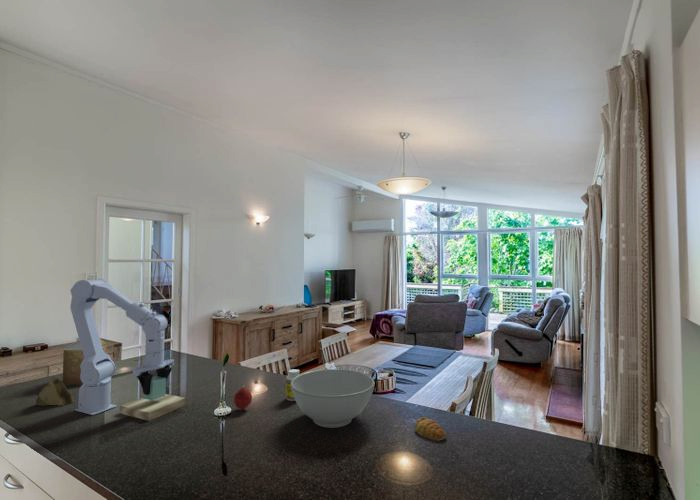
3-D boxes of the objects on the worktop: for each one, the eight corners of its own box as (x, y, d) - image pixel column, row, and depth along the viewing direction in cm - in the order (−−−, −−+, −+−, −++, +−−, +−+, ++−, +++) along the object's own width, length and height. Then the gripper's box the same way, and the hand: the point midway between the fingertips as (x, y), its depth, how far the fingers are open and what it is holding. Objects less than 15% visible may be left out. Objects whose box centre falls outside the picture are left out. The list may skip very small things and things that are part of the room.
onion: (246, 414, 121) (246, 389, 121) (230, 412, 122) (231, 388, 123) (254, 407, 127) (254, 384, 127) (239, 406, 128) (239, 382, 128)
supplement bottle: (283, 400, 133) (283, 372, 133) (289, 395, 139) (289, 368, 139) (298, 402, 132) (298, 373, 132) (303, 396, 137) (303, 369, 138)
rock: (24, 400, 126) (37, 401, 122) (41, 376, 131) (55, 376, 127) (54, 411, 133) (68, 413, 128) (70, 387, 138) (84, 388, 134)
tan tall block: (88, 385, 149) (89, 337, 150) (62, 384, 149) (63, 337, 150) (105, 377, 160) (106, 333, 161) (81, 376, 160) (83, 332, 161)
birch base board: (119, 413, 121) (120, 405, 122) (157, 399, 134) (157, 392, 134) (149, 420, 116) (149, 412, 116) (185, 405, 129) (185, 397, 129)
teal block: (142, 398, 124) (142, 380, 124) (155, 393, 128) (155, 376, 129) (152, 400, 122) (153, 382, 122) (165, 395, 126) (165, 377, 127)
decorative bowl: (391, 418, 118) (391, 380, 119) (331, 449, 99) (331, 403, 99) (333, 397, 136) (333, 364, 137) (272, 420, 117) (273, 381, 117)
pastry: (451, 438, 105) (451, 425, 106) (435, 445, 102) (435, 431, 102) (427, 426, 113) (427, 413, 113) (411, 432, 109) (411, 419, 110)
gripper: (143, 357, 117) (142, 400, 117) (180, 348, 131) (180, 386, 130) (128, 355, 120) (127, 397, 120) (166, 346, 134) (166, 384, 133)
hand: (154, 391), depth 125 cm, fingers closed on teal block, 5 cm apart
